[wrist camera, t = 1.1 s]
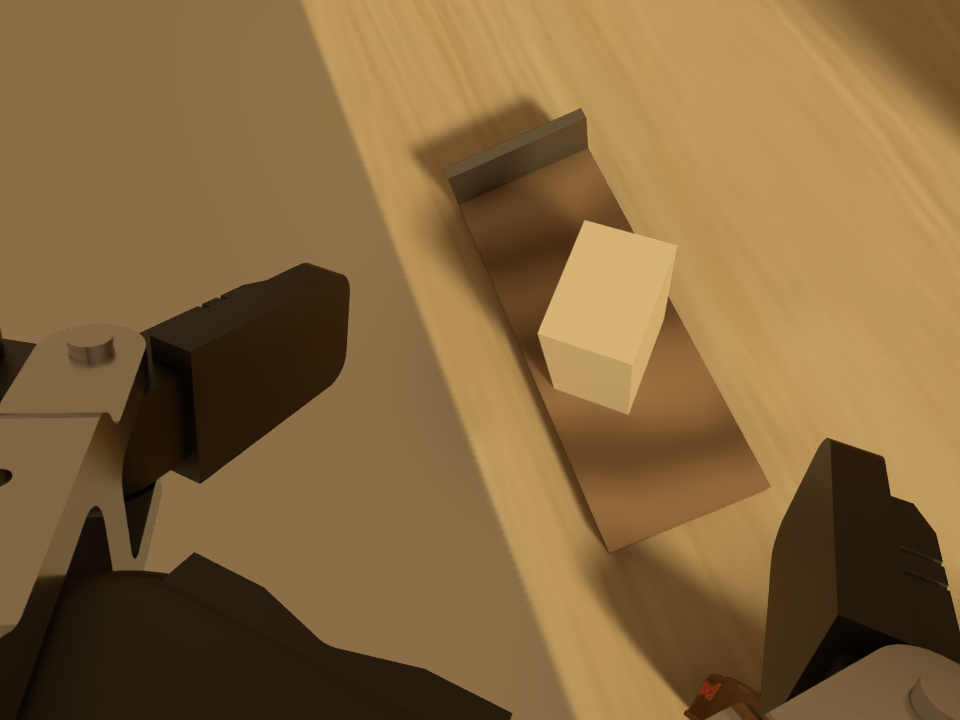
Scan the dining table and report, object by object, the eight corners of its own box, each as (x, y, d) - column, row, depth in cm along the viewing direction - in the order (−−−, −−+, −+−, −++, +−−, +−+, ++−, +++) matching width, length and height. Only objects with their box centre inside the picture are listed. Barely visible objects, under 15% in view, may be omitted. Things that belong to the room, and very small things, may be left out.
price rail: (453, 192, 44) (442, 166, 42) (581, 136, 44) (579, 105, 41) (458, 205, 44) (448, 179, 41) (588, 148, 44) (586, 117, 41)
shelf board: (459, 207, 46) (454, 195, 44) (584, 152, 45) (583, 138, 44) (609, 553, 37) (609, 552, 36) (764, 490, 37) (770, 486, 35)
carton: (628, 414, 38) (632, 364, 29) (554, 388, 39) (537, 333, 31) (665, 316, 39) (678, 241, 31) (592, 293, 40) (586, 216, 32)
